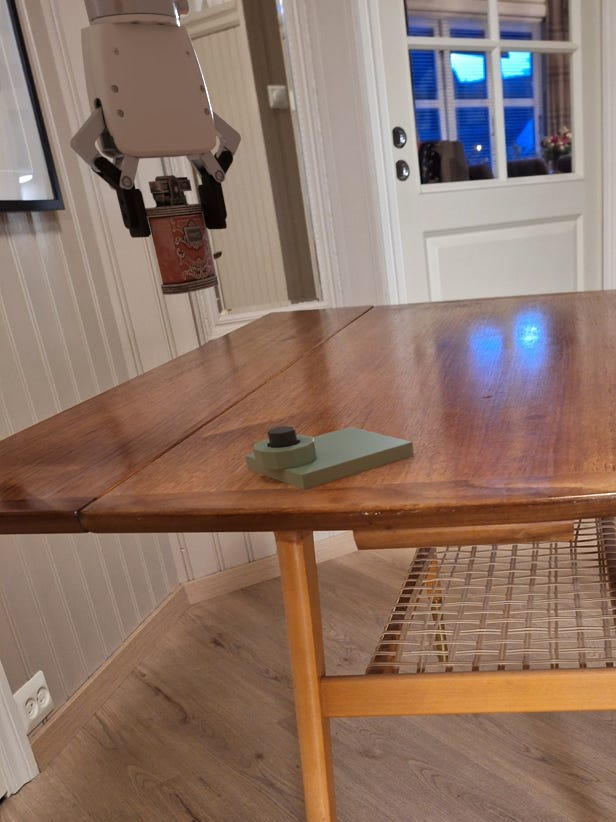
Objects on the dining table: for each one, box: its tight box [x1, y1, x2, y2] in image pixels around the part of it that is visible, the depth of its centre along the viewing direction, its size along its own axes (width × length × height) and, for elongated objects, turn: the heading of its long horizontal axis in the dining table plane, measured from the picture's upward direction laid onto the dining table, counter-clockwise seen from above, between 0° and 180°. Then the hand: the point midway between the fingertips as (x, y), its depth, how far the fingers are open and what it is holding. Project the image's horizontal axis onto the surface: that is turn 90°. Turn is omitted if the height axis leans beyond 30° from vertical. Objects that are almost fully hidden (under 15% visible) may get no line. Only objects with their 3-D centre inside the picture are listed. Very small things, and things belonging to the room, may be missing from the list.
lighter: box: [145, 174, 219, 296], centre depth 84 cm, size 8×3×10 cm, turn 168°
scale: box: [244, 426, 414, 490], centre depth 80 cm, size 13×10×3 cm
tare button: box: [267, 425, 298, 448], centre depth 77 cm, size 2×2×2 cm
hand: (179, 231), depth 84 cm, fingers closed on lighter, 7 cm apart
